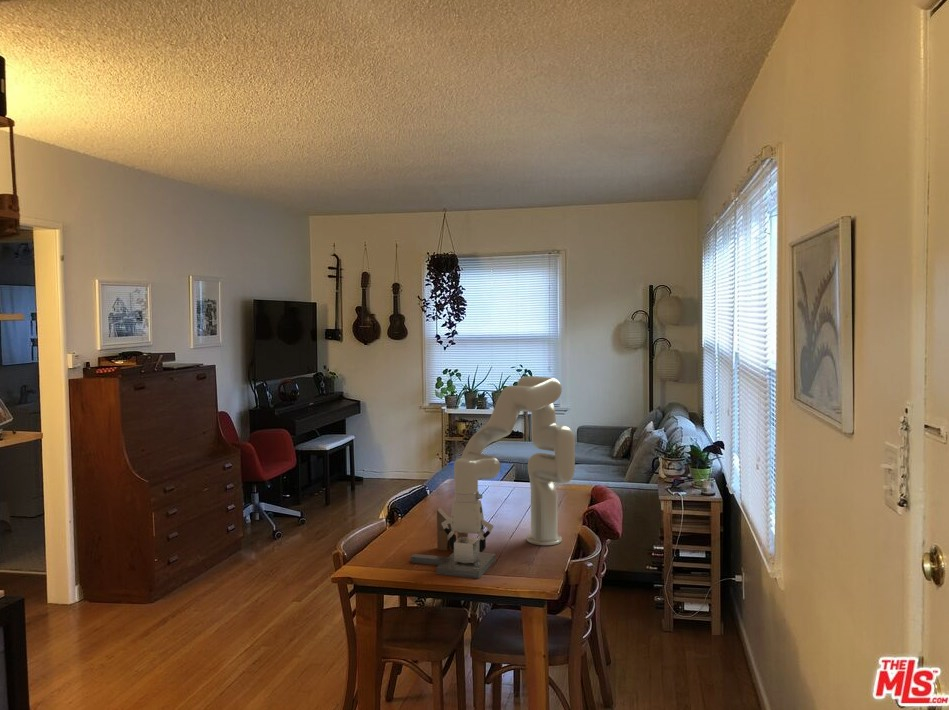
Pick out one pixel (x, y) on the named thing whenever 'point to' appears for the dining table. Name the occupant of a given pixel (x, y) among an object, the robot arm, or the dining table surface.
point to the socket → (466, 549)
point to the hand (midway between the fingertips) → (467, 549)
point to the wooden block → (442, 536)
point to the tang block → (457, 564)
